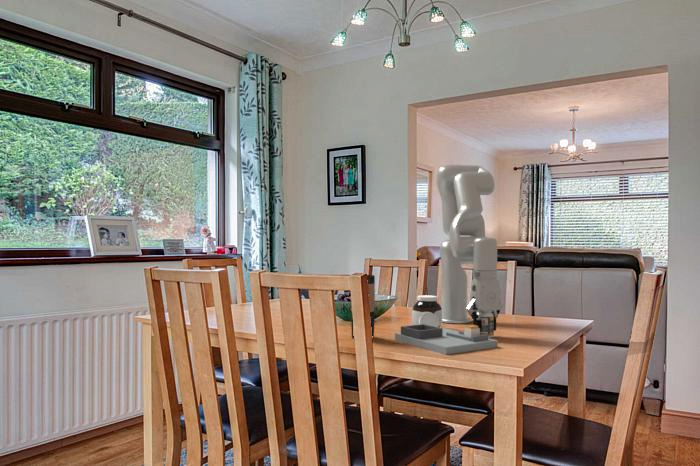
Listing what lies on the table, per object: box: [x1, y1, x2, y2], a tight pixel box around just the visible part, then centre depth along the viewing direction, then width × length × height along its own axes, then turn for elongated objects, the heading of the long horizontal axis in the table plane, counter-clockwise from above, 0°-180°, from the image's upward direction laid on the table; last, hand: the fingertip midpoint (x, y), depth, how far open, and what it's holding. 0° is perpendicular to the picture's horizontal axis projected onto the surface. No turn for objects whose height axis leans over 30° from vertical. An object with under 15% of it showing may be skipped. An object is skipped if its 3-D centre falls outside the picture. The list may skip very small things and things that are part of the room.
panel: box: [394, 324, 498, 355], centre depth 161 cm, size 24×20×4 cm
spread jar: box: [411, 294, 443, 328], centre depth 183 cm, size 12×11×12 cm
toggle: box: [463, 324, 480, 338], centre depth 158 cm, size 3×4×4 cm
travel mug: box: [350, 274, 376, 339], centre depth 169 cm, size 8×8×20 cm
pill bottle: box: [476, 309, 495, 339], centre depth 171 cm, size 6×6×10 cm
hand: (484, 330), depth 171 cm, fingers closed on pill bottle, 5 cm apart
